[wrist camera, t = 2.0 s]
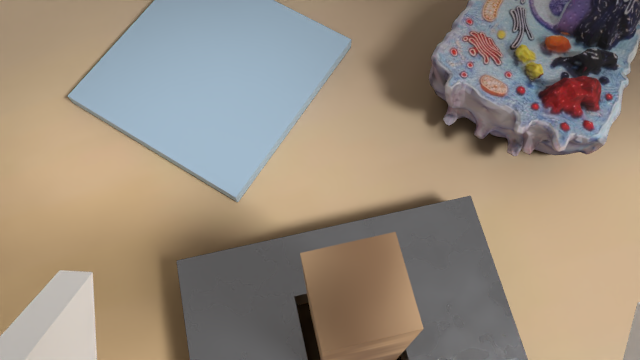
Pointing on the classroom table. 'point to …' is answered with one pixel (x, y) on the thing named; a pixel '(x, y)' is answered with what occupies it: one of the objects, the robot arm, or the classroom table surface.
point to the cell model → (538, 70)
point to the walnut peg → (361, 299)
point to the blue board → (212, 83)
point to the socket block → (290, 290)
